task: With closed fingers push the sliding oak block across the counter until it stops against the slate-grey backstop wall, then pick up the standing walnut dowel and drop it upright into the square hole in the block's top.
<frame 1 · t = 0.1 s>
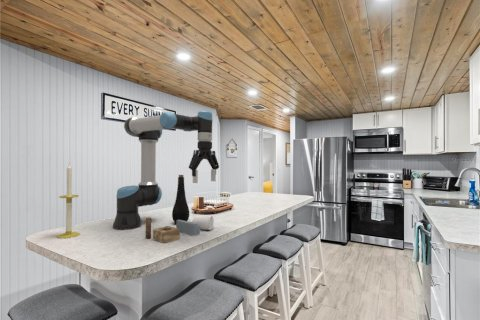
hand: (204, 182, 132), 28 cm above the countertop, fingers open, 13 cm apart
candle: (68, 235, 131), on the countertop
mug: (204, 228, 147), on the countertop
block: (166, 234, 126), point 3 cm above the countertop, slide at 0.0 cm
backstop wall: (186, 233, 137), on the countertop
bottle: (180, 223, 158), on the countertop
dowel: (148, 237, 128), on the countertop
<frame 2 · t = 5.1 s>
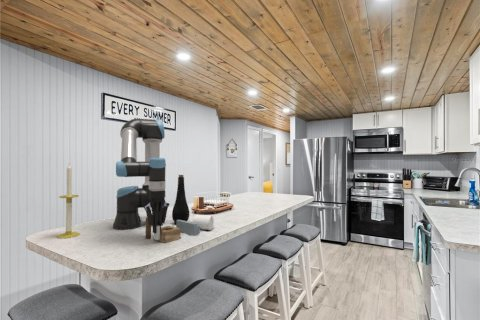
hand: (156, 239, 121), 1 cm above the countertop, fingers closed
block: (167, 233, 127), point 3 cm above the countertop, slide at 0.7 cm, touching gripper
everything else where it was.
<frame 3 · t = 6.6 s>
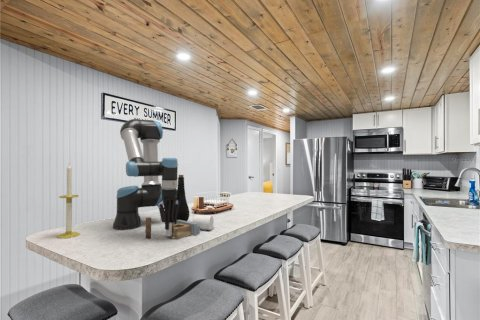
hand: (168, 235, 127), 1 cm above the countertop, fingers closed
block: (178, 230, 132), point 3 cm above the countertop, slide at 7.8 cm, touching backstop wall, gripper
everything else where it was.
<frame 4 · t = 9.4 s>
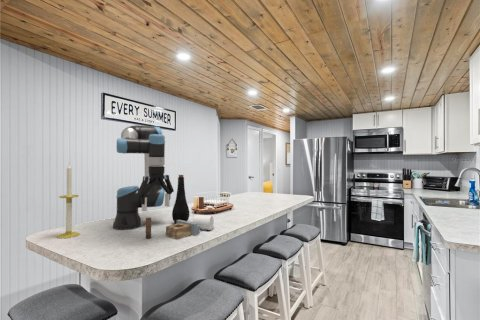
hand: (156, 208, 126), 15 cm above the countertop, fingers open, 13 cm apart
block: (178, 230, 132), point 3 cm above the countertop, slide at 7.8 cm, touching backstop wall
everything else where it was.
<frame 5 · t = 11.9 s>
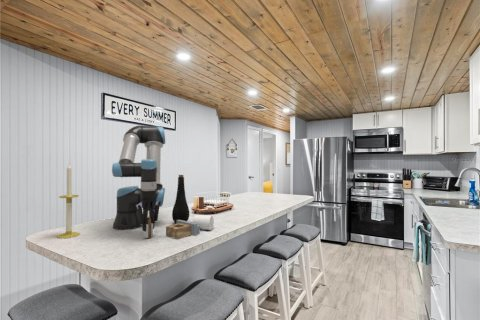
hand: (148, 236, 128), 1 cm above the countertop, fingers closed on dowel, 2 cm apart
dowel: (148, 237, 128), on the countertop, touching gripper
everything else where it was.
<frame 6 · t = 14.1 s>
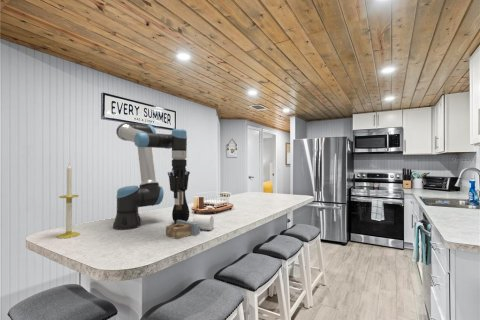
hand: (178, 204, 132), 16 cm above the countertop, fingers closed on dowel, 2 cm apart
dowel: (178, 209, 132), point 14 cm above the countertop, touching gripper
everything else where it was.
when the fingers open (7 cm above the countertop, at t = 16.5 s): dowel drops 3 cm, resting on block.
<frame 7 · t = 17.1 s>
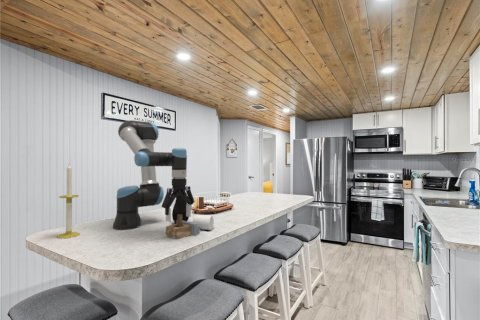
hand: (178, 218, 132), 9 cm above the countertop, fingers open, 13 cm apart
block: (178, 230, 132), point 3 cm above the countertop, slide at 7.8 cm, touching dowel
dowel: (178, 234, 132), point 1 cm above the countertop, touching block
everything else where it was.
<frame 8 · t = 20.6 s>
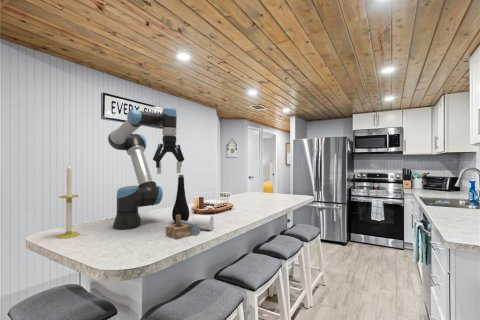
hand: (169, 173, 143), 32 cm above the countertop, fingers open, 13 cm apart
nothing on the countertop moved.
at the end: block slide at 7.8 cm; dowel 0.2 cm off-centre on the block, point 0.7 cm above the block's base; dowel tilted 3° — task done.
